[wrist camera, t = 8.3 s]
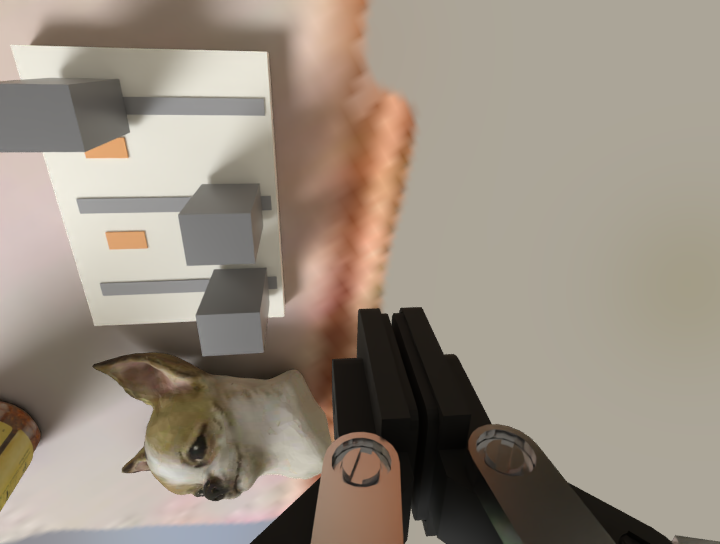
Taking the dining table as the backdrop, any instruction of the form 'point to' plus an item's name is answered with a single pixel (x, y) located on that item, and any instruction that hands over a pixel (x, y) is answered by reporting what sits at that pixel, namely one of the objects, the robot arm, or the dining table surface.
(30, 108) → the slider
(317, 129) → the dining table surface
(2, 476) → the sauce bottle
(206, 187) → the slider
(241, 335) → the slider
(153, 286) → the switch panel
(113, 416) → the dining table surface
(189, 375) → the ceramic sculpture
